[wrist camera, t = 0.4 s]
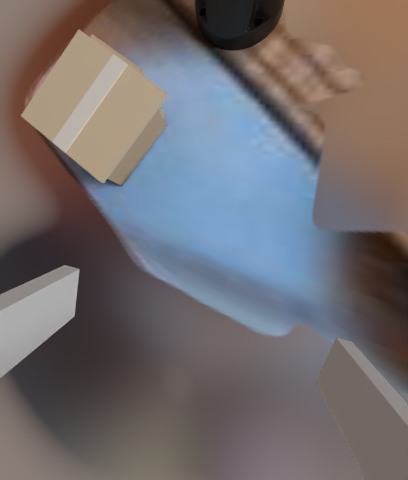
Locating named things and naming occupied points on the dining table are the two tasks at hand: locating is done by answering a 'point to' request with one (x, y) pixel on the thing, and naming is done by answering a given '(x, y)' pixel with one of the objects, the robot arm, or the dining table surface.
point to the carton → (144, 138)
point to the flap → (93, 106)
